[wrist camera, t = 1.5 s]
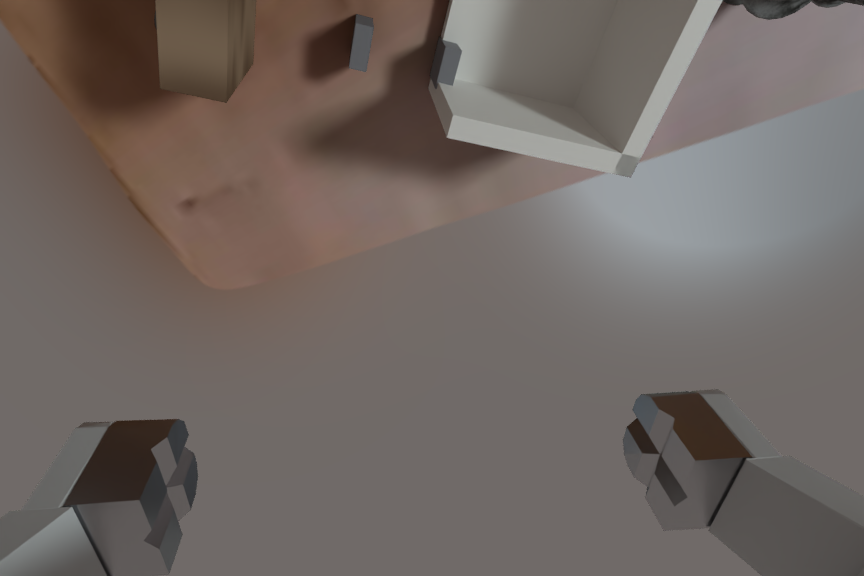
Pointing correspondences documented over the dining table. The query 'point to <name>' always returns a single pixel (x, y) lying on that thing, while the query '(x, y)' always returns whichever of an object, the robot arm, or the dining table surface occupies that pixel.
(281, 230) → the dining table surface
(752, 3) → the chess piece
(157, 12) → the door
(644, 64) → the cabinet
